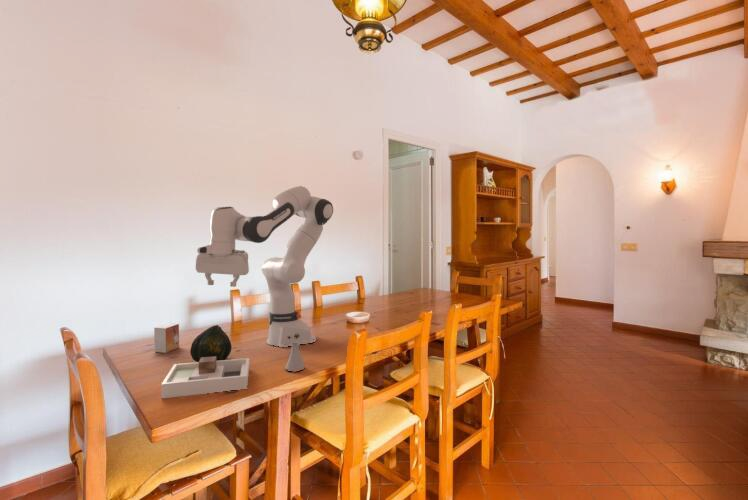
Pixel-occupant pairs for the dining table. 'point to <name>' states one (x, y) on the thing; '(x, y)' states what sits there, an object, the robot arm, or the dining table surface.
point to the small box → (166, 337)
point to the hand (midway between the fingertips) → (221, 285)
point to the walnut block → (207, 365)
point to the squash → (211, 344)
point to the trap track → (205, 378)
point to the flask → (295, 358)
